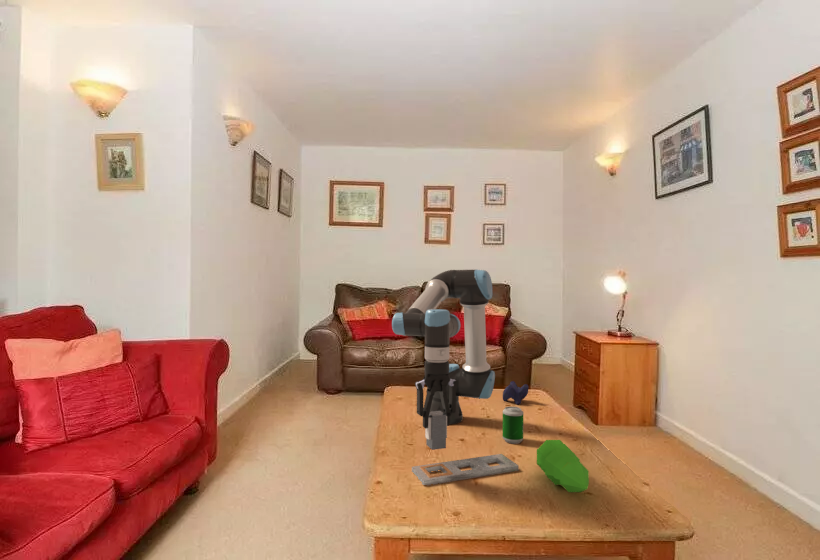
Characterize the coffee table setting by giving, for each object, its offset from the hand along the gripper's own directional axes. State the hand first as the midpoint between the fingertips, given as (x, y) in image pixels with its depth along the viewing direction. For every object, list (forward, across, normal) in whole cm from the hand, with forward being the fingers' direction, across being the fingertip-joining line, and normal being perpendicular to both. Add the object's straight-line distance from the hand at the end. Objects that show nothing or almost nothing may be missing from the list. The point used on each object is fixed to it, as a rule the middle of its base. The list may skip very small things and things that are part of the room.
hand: (436, 437), depth 134 cm
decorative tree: (+12, +32, -18) cm, 39 cm away
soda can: (+11, +39, +18) cm, 45 cm away
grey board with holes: (+12, +10, 0) cm, 16 cm away
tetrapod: (+11, +70, +63) cm, 95 cm away
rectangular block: (+3, 0, 0) cm, 3 cm away
